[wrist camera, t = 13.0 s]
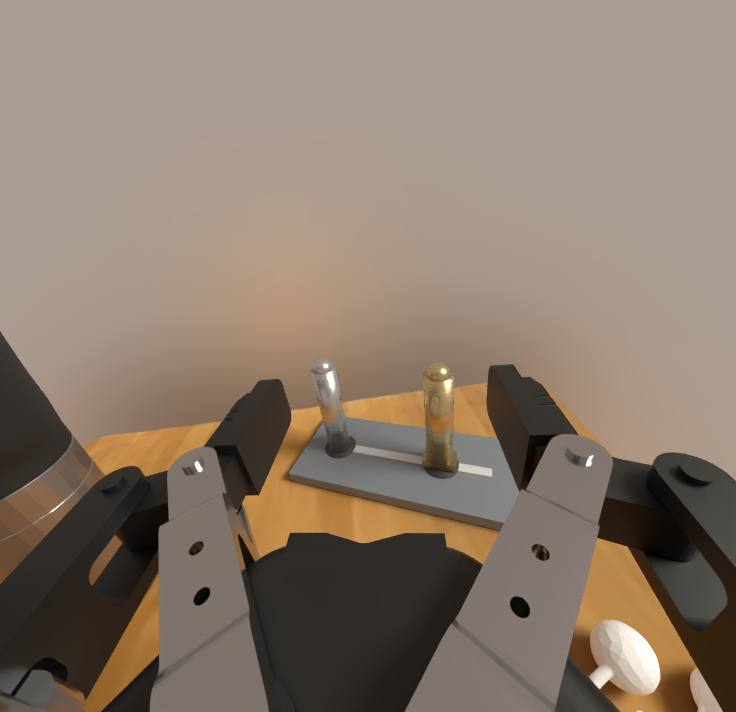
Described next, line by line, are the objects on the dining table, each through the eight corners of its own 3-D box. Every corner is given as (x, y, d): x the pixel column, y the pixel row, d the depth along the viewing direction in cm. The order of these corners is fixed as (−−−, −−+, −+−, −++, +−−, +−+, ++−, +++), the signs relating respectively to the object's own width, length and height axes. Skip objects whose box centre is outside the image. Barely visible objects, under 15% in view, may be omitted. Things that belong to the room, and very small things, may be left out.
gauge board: (291, 480, 41) (288, 472, 40) (329, 421, 51) (327, 414, 50) (522, 536, 31) (524, 526, 30) (515, 449, 41) (516, 440, 40)
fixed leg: (326, 452, 43) (303, 365, 36) (335, 437, 45) (315, 353, 38) (346, 456, 41) (326, 367, 35) (354, 440, 44) (336, 354, 37)
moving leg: (421, 468, 38) (415, 371, 31) (426, 449, 40) (421, 356, 33) (455, 475, 36) (456, 374, 29) (457, 454, 39) (459, 358, 32)
